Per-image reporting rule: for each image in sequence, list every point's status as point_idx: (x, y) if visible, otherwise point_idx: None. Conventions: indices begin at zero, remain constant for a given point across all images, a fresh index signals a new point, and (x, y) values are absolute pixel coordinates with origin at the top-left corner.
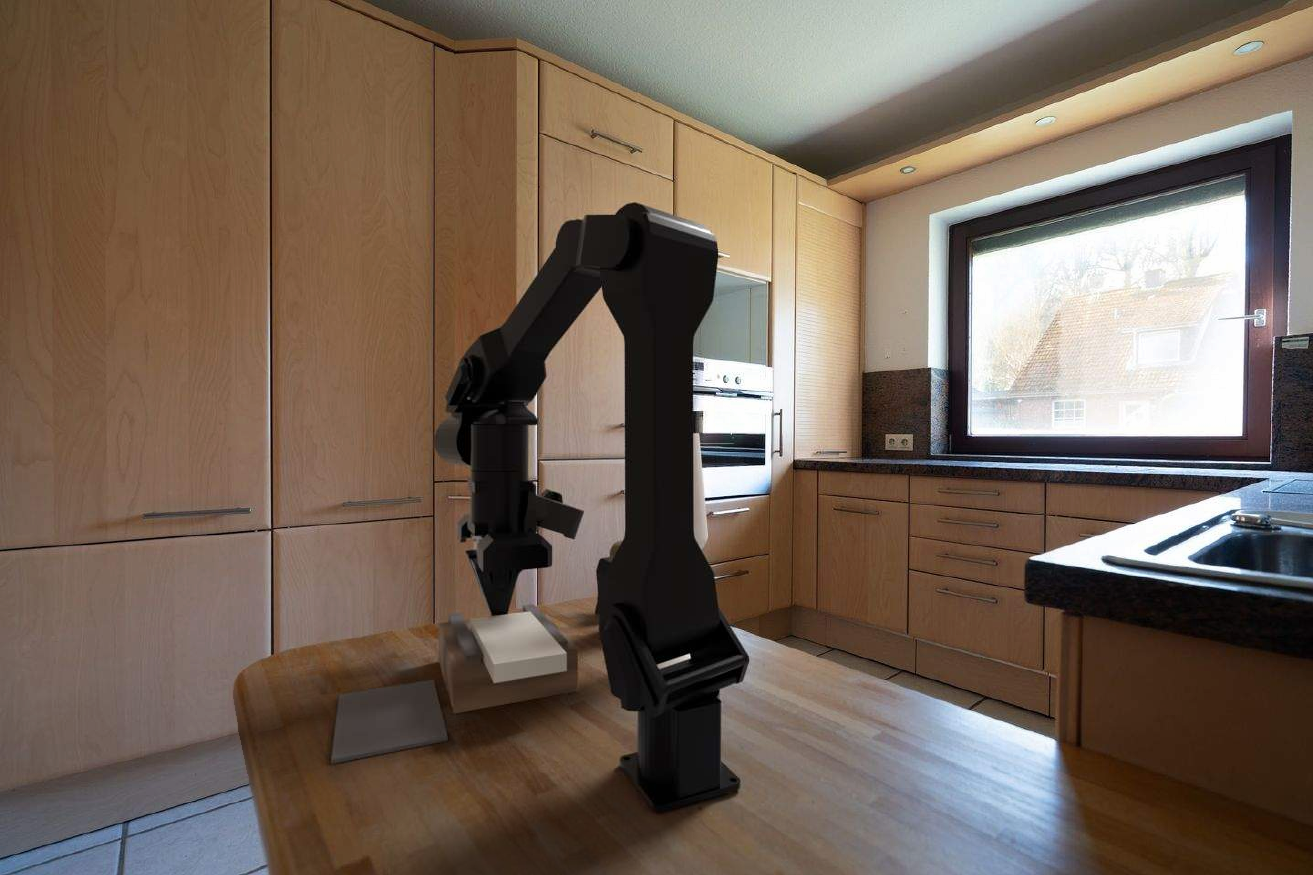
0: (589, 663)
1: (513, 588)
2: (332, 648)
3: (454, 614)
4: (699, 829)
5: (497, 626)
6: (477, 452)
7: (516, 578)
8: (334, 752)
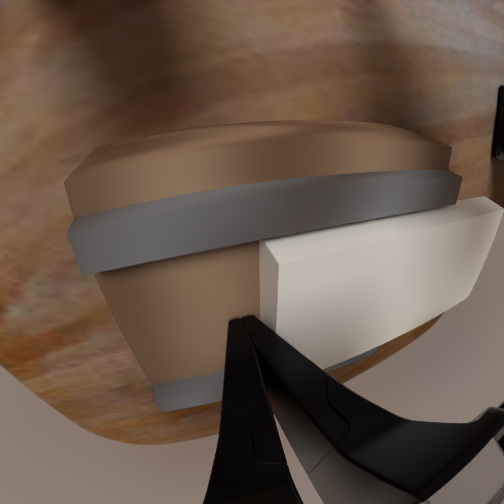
0: (276, 45)
1: (341, 386)
2: (99, 425)
3: (165, 406)
4: None
5: (360, 328)
6: None
7: (384, 410)
8: (367, 355)
